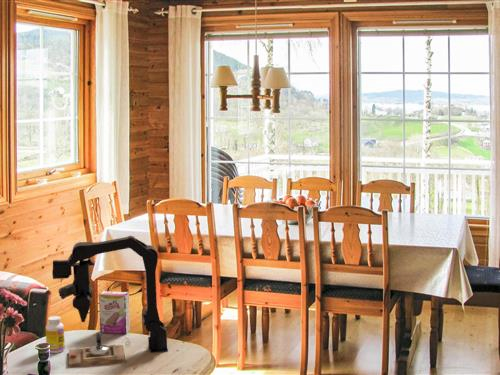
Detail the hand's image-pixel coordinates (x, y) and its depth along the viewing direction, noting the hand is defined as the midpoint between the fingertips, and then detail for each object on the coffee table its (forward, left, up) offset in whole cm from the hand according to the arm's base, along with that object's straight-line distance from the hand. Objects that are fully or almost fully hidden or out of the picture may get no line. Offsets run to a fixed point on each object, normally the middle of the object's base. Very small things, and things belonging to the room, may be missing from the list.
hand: (83, 318), depth 286 cm
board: (-4, +4, -14) cm, 15 cm away
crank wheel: (-5, +3, -13) cm, 14 cm away
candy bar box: (-12, -23, -14) cm, 30 cm away
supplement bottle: (+11, -7, -14) cm, 19 cm away
